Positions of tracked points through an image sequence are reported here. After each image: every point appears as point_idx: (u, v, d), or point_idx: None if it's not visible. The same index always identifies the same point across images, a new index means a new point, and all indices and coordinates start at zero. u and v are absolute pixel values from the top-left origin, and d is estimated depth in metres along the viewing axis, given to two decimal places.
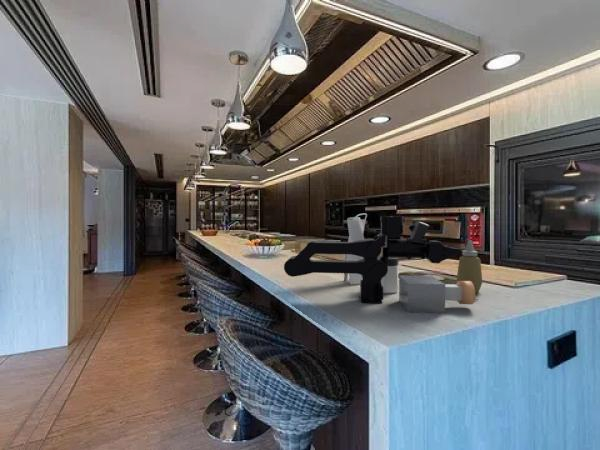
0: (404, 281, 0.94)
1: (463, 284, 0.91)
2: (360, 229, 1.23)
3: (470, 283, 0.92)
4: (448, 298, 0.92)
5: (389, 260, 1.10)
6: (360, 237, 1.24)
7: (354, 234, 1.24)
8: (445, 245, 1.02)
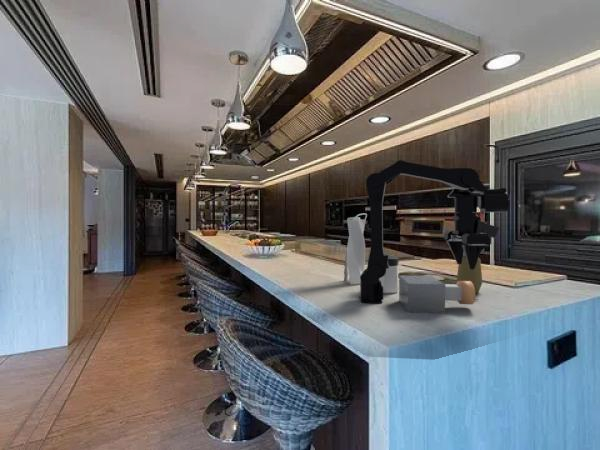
0: (404, 281, 0.94)
1: (463, 284, 0.91)
2: (360, 229, 1.23)
3: (470, 283, 0.92)
4: (448, 298, 0.92)
5: (389, 260, 1.10)
6: (360, 237, 1.24)
7: (354, 234, 1.24)
8: None
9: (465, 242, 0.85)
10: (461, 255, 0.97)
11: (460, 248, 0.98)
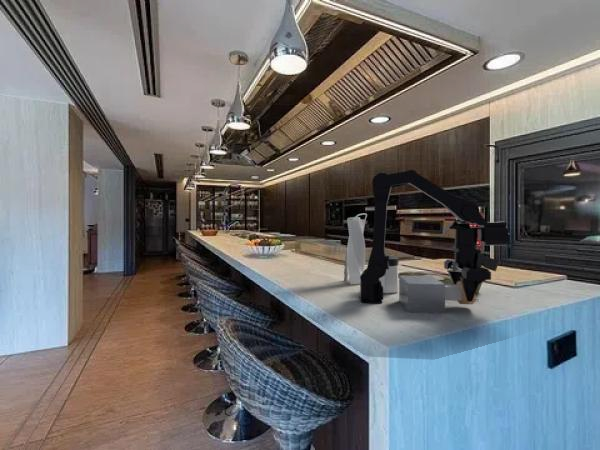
0: (404, 281, 0.94)
1: None
2: (360, 229, 1.23)
3: None
4: (448, 298, 0.92)
5: (389, 260, 1.10)
6: (360, 237, 1.24)
7: (354, 234, 1.24)
8: None
9: (465, 277, 0.85)
10: None
11: None
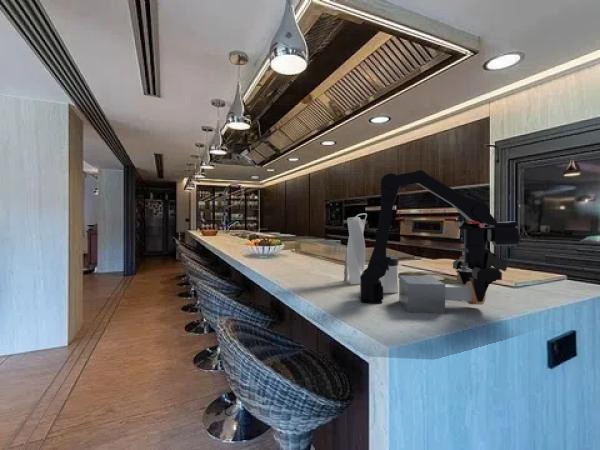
0: (404, 281, 0.94)
1: None
2: (360, 229, 1.23)
3: None
4: (458, 299, 0.92)
5: None
6: (360, 237, 1.24)
7: (354, 234, 1.24)
8: None
9: (475, 277, 0.85)
10: None
11: (470, 279, 0.96)
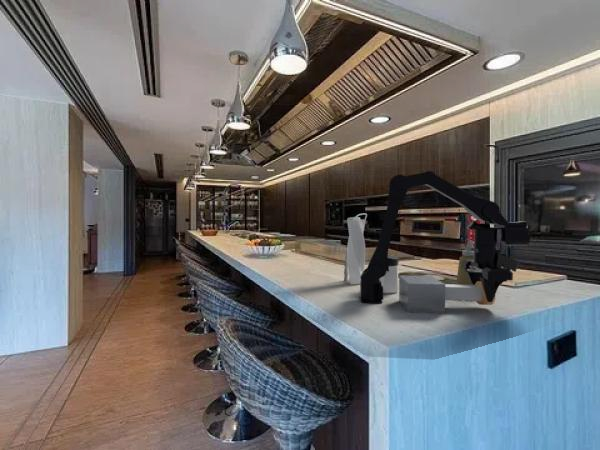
0: (404, 281, 0.94)
1: None
2: (360, 229, 1.23)
3: None
4: (468, 299, 0.91)
5: None
6: (360, 237, 1.24)
7: (354, 234, 1.24)
8: None
9: (486, 277, 0.85)
10: None
11: (480, 279, 0.96)
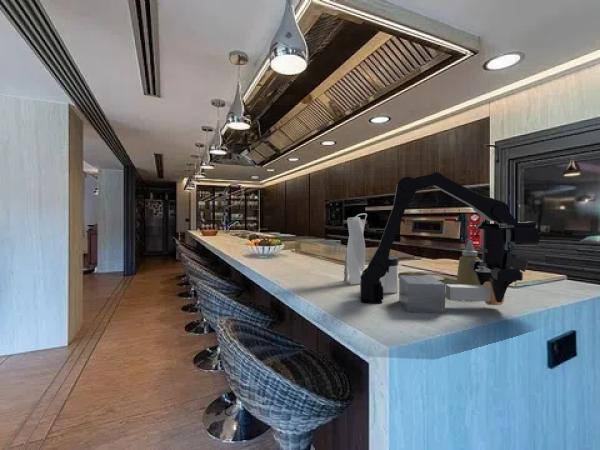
0: (404, 281, 0.94)
1: None
2: (360, 229, 1.23)
3: None
4: (477, 299, 0.91)
5: None
6: (360, 237, 1.24)
7: (354, 234, 1.24)
8: None
9: (495, 277, 0.85)
10: None
11: (488, 279, 0.96)
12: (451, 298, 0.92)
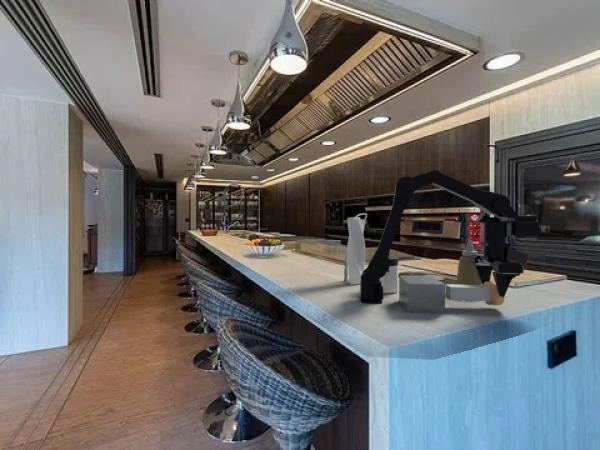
0: (404, 281, 0.94)
1: (492, 285, 0.90)
2: (360, 229, 1.23)
3: None
4: (477, 299, 0.91)
5: None
6: (360, 237, 1.24)
7: (354, 234, 1.24)
8: None
9: (496, 270, 0.84)
10: (488, 280, 0.97)
11: (487, 273, 0.97)
12: (451, 298, 0.92)
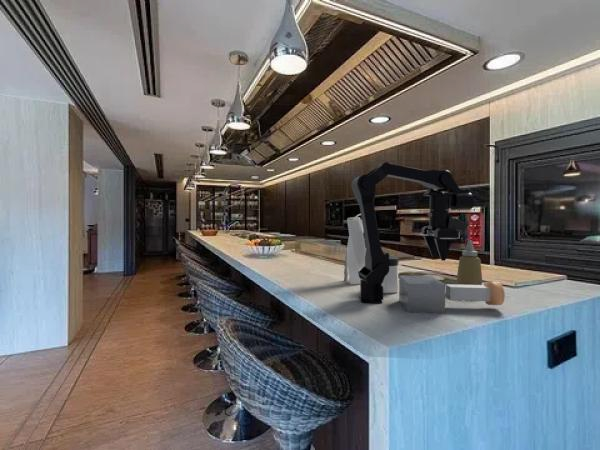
0: (404, 281, 0.94)
1: (492, 285, 0.90)
2: (360, 229, 1.23)
3: (499, 284, 0.91)
4: (477, 299, 0.91)
5: (389, 260, 1.10)
6: (360, 237, 1.24)
7: (354, 234, 1.24)
8: (436, 252, 1.08)
9: (436, 236, 0.96)
10: (436, 248, 1.08)
11: (435, 242, 1.08)
12: (451, 298, 0.92)
